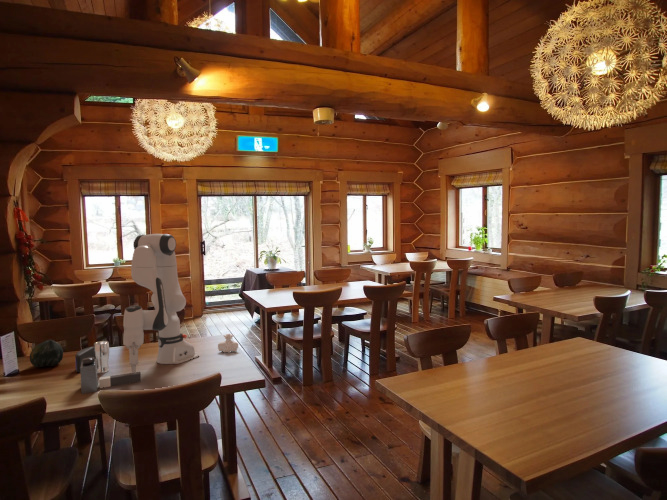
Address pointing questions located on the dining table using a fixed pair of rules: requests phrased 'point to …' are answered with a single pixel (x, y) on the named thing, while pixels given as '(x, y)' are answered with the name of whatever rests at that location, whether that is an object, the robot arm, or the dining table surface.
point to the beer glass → (102, 356)
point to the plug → (120, 379)
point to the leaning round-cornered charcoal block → (83, 356)
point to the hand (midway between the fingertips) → (133, 368)
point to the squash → (46, 354)
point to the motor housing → (89, 375)
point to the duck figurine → (228, 344)
